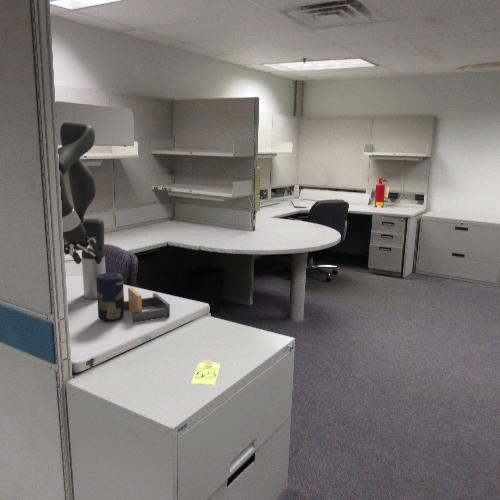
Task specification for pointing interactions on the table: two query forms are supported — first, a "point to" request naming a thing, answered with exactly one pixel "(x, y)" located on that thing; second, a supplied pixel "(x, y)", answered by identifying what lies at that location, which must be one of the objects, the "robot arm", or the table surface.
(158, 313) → the tray
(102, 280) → the canister
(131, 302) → the plate
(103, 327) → the table surface
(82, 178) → the robot arm
